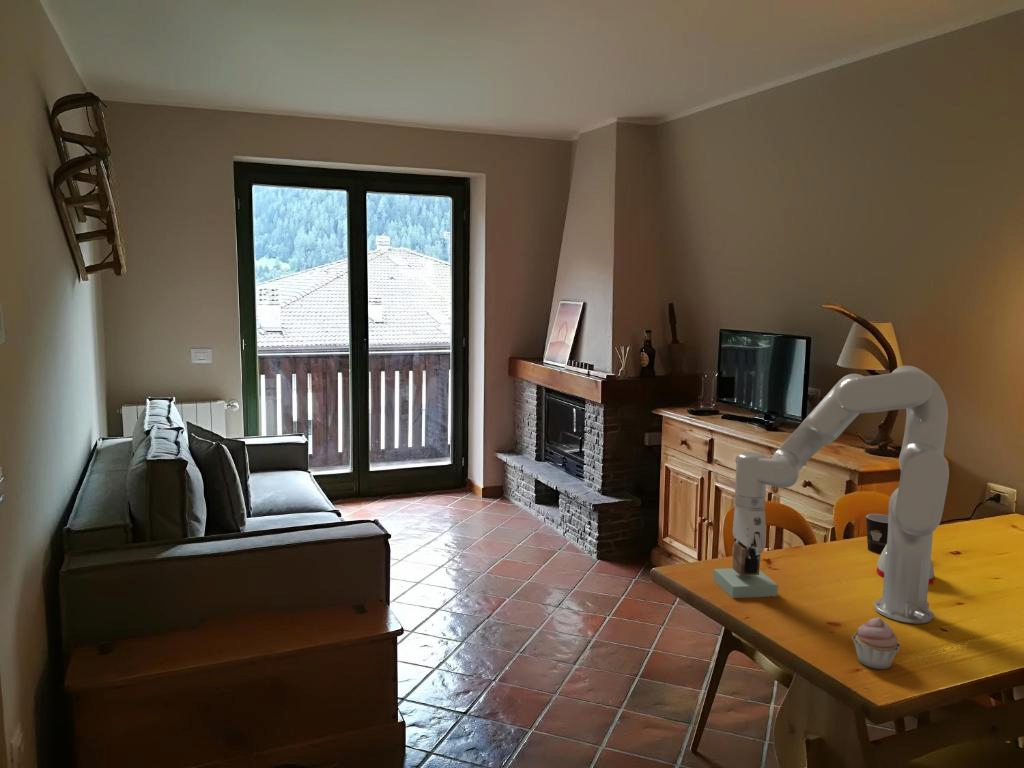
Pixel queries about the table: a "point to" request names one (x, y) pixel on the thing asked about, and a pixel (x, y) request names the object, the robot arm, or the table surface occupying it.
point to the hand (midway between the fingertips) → (745, 568)
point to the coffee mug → (877, 532)
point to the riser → (745, 584)
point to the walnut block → (742, 559)
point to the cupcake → (876, 644)
